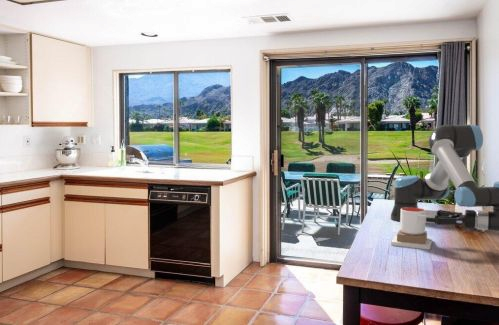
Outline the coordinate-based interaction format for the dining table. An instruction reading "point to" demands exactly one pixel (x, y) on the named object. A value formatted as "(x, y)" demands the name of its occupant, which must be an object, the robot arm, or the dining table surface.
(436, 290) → the dining table surface
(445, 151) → the robot arm
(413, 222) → the cup
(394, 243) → the plinth
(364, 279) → the dining table surface
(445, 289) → the dining table surface
